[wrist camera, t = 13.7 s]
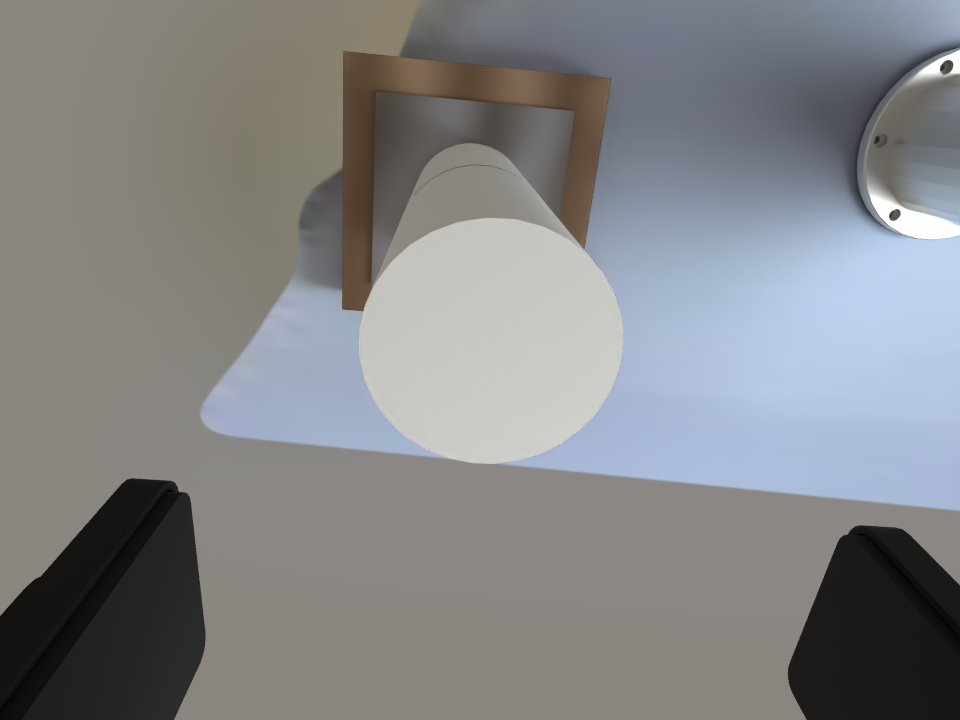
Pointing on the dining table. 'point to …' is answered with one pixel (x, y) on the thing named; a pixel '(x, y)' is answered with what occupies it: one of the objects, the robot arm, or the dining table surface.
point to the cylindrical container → (487, 317)
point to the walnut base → (457, 142)
